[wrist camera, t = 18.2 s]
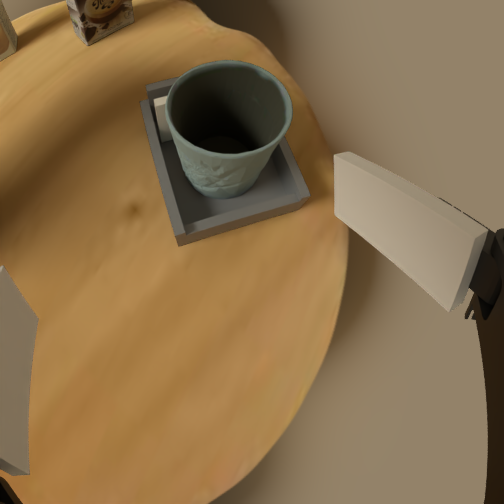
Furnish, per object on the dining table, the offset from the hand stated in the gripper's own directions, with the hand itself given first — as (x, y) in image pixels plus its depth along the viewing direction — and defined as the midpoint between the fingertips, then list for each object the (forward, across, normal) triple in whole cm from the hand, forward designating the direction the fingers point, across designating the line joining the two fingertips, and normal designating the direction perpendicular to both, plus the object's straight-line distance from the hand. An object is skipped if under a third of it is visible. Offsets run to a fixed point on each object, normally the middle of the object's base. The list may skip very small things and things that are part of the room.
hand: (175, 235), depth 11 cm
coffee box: (+48, -2, +16) cm, 51 cm away
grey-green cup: (+23, +7, -7) cm, 26 cm away
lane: (+25, +8, -7) cm, 27 cm away
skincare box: (+54, -22, +21) cm, 61 cm away
